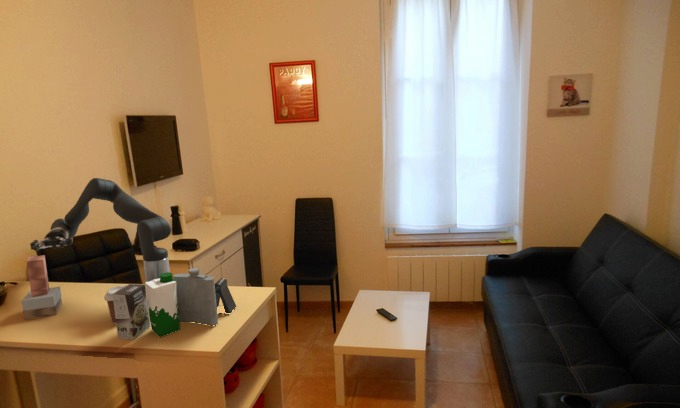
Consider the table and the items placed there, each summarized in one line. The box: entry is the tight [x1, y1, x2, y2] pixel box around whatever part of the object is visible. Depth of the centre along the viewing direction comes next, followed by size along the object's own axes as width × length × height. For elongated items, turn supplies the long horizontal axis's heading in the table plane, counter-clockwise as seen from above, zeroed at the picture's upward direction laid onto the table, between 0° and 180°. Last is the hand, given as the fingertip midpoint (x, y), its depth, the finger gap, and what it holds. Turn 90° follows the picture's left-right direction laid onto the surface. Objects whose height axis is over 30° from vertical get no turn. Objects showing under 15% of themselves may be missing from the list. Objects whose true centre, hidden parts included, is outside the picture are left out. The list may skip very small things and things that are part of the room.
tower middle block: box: [21, 286, 63, 312], centre depth 165 cm, size 10×10×4 cm
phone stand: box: [215, 277, 237, 314], centre depth 163 cm, size 9×6×12 cm, turn 82°
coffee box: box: [113, 283, 151, 341], centre depth 147 cm, size 9×6×16 cm
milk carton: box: [144, 272, 181, 338], centre depth 148 cm, size 9×9×20 cm
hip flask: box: [172, 267, 219, 327], centre depth 153 cm, size 16×4×20 cm, turn 73°
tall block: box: [26, 254, 50, 297], centre depth 163 cm, size 5×5×14 cm
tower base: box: [23, 297, 63, 321], centre depth 166 cm, size 10×10×4 cm
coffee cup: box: [103, 285, 126, 325], centre depth 157 cm, size 9×9×12 cm
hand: (48, 247), depth 173 cm, fingers open, 8 cm apart
